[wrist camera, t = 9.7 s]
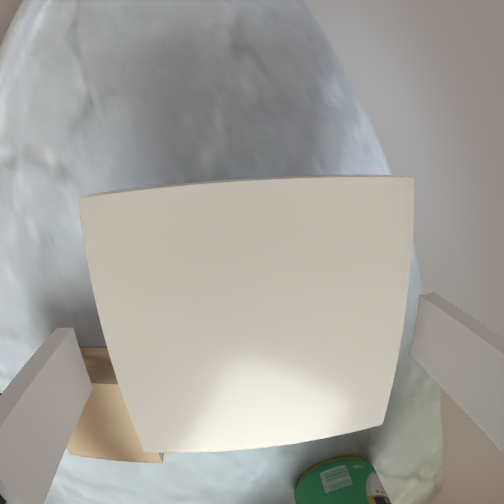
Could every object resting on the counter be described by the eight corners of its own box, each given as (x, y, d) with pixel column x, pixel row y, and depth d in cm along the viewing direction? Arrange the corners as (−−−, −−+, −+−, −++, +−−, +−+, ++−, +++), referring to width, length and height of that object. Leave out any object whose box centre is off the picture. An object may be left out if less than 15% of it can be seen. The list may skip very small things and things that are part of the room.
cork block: (85, 420, 20) (70, 454, 17) (55, 346, 19) (31, 378, 15) (168, 423, 21) (162, 463, 17) (147, 347, 19) (134, 384, 15)
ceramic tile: (150, 423, 14) (144, 452, 12) (99, 192, 11) (77, 198, 9) (367, 399, 15) (382, 424, 13) (387, 174, 12) (414, 177, 10)
